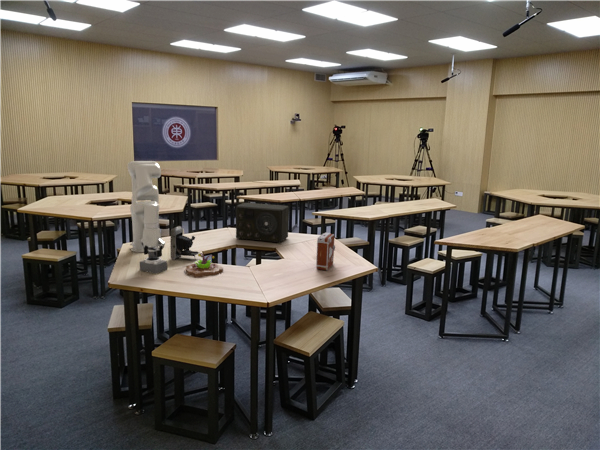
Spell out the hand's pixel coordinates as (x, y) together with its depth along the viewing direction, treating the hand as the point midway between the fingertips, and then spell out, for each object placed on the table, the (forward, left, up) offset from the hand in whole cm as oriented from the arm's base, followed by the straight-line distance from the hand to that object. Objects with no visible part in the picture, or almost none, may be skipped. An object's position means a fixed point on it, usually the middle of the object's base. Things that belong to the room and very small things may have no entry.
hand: (153, 255), depth 251 cm
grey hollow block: (0, 0, -8) cm, 8 cm away
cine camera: (+81, +59, -9) cm, 101 cm away
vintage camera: (0, +27, -9) cm, 28 cm away
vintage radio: (+13, +95, -9) cm, 96 cm away
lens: (0, 0, -4) cm, 4 cm away
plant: (+25, +13, -9) cm, 30 cm away
